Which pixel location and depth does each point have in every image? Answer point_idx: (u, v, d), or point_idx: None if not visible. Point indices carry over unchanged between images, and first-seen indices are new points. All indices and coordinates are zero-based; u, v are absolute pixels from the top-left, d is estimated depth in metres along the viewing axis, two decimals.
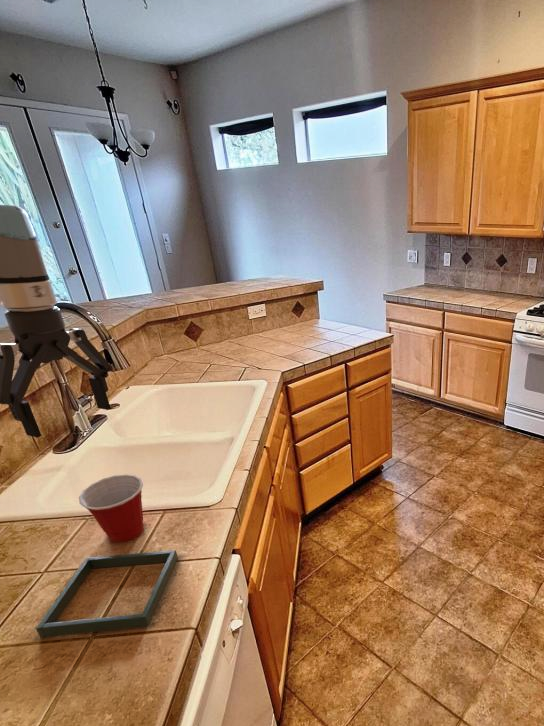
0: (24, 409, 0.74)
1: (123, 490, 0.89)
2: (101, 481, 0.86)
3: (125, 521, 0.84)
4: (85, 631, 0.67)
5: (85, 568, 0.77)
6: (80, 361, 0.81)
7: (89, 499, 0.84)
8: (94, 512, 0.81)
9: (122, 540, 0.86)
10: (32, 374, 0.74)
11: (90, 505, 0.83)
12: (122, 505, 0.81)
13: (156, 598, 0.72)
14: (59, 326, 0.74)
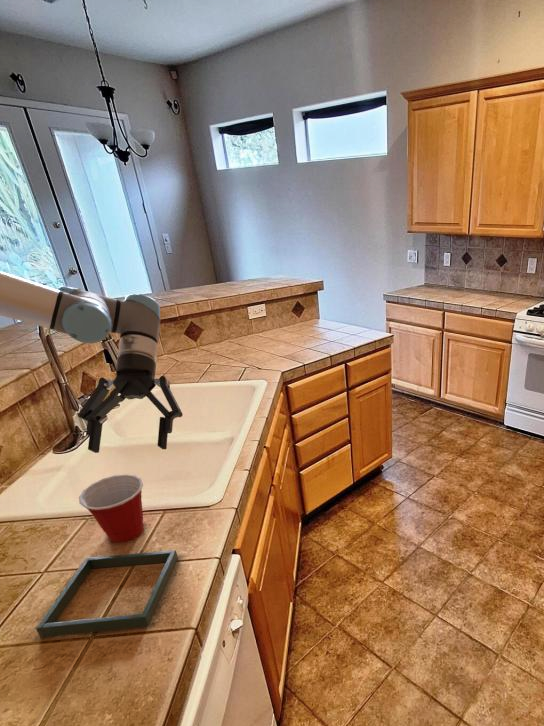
0: None
1: (123, 490, 0.89)
2: (101, 481, 0.86)
3: (125, 521, 0.84)
4: (85, 631, 0.67)
5: (85, 568, 0.77)
6: (151, 399, 0.94)
7: (89, 499, 0.84)
8: (94, 512, 0.81)
9: (122, 540, 0.86)
10: (109, 401, 0.92)
11: (90, 505, 0.83)
12: (122, 505, 0.81)
13: (156, 598, 0.72)
14: (134, 364, 0.93)
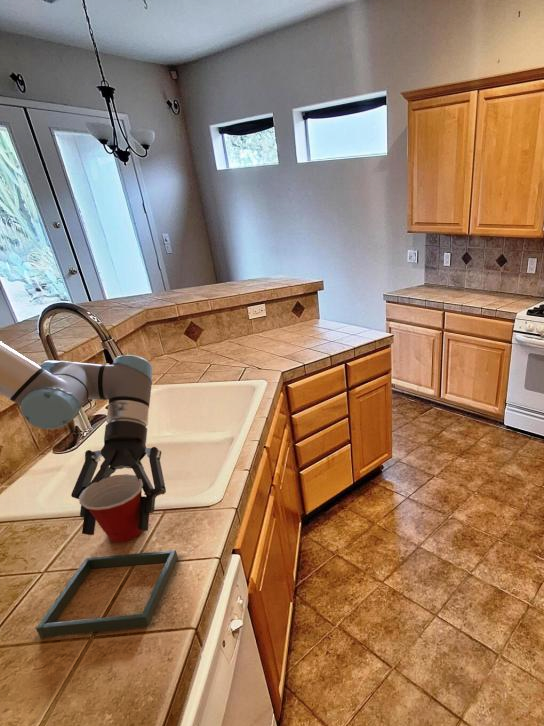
0: None
1: (123, 490, 0.89)
2: (101, 481, 0.86)
3: (125, 521, 0.84)
4: (85, 631, 0.67)
5: (85, 568, 0.77)
6: (136, 473, 0.87)
7: (89, 499, 0.84)
8: (94, 512, 0.81)
9: (122, 540, 0.86)
10: (101, 475, 0.86)
11: (90, 505, 0.83)
12: (122, 505, 0.81)
13: (156, 598, 0.72)
14: (123, 433, 0.87)
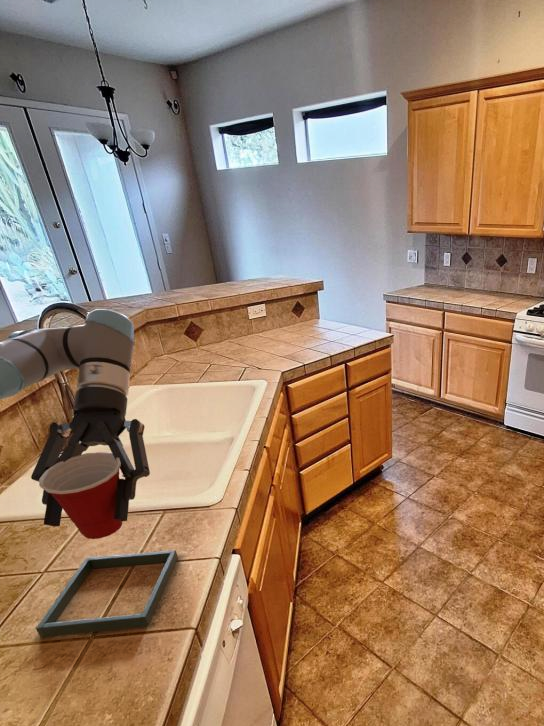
0: None
1: (97, 472, 0.73)
2: (69, 460, 0.70)
3: (98, 509, 0.68)
4: (85, 631, 0.67)
5: (85, 568, 0.77)
6: (113, 450, 0.71)
7: (54, 482, 0.68)
8: (58, 497, 0.64)
9: (95, 533, 0.70)
10: (69, 453, 0.70)
11: (54, 489, 0.67)
12: (93, 488, 0.65)
13: (156, 598, 0.72)
14: (97, 401, 0.71)
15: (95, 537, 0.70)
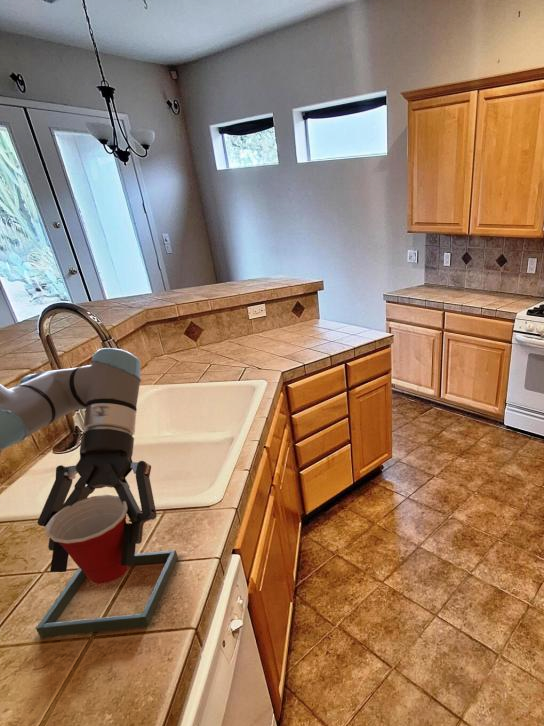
0: None
1: (103, 515, 0.72)
2: (76, 504, 0.69)
3: (105, 555, 0.67)
4: (85, 631, 0.67)
5: None
6: (120, 494, 0.70)
7: (60, 527, 0.67)
8: (65, 545, 0.64)
9: (102, 578, 0.69)
10: (75, 496, 0.69)
11: (61, 535, 0.67)
12: (100, 536, 0.64)
13: (156, 598, 0.72)
14: (104, 444, 0.70)
15: (102, 582, 0.70)
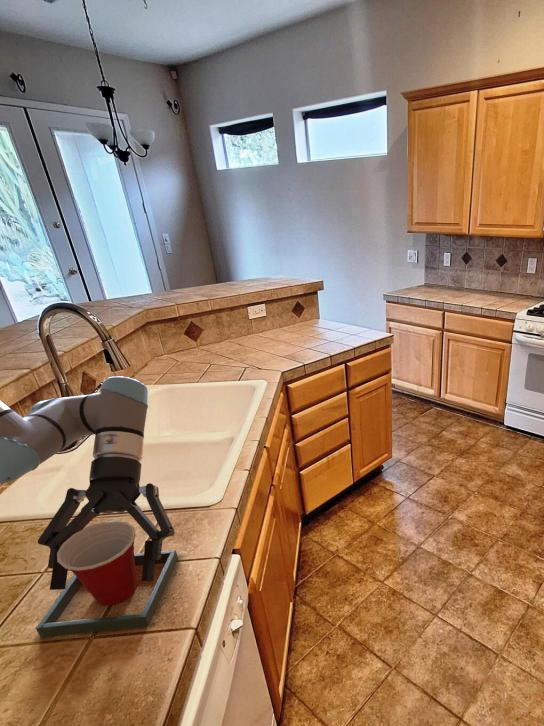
0: None
1: (112, 540, 0.74)
2: (85, 530, 0.72)
3: (114, 580, 0.69)
4: (85, 631, 0.67)
5: None
6: (134, 516, 0.73)
7: (71, 553, 0.69)
8: (75, 572, 0.66)
9: (110, 601, 0.71)
10: (80, 520, 0.72)
11: (71, 561, 0.69)
12: (109, 563, 0.67)
13: (156, 598, 0.72)
14: (113, 472, 0.73)
15: None
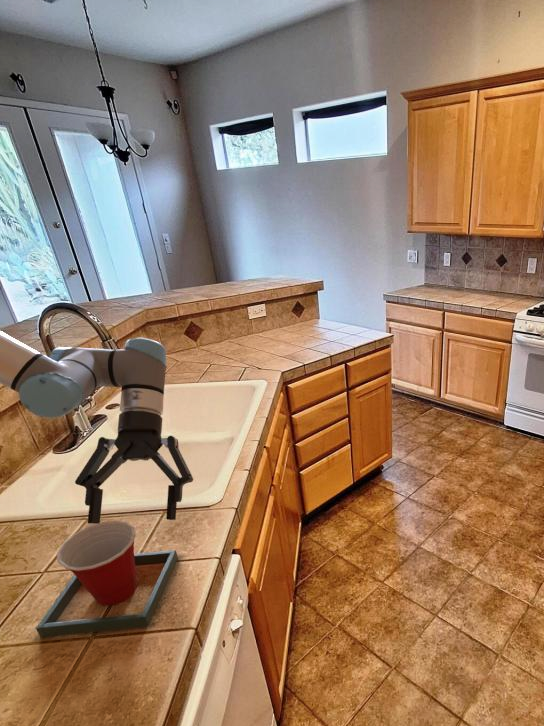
0: None
1: (112, 540, 0.74)
2: (85, 530, 0.72)
3: (114, 580, 0.69)
4: (85, 631, 0.67)
5: None
6: (158, 464, 0.83)
7: (71, 553, 0.69)
8: (75, 572, 0.66)
9: (110, 601, 0.71)
10: (110, 465, 0.82)
11: (71, 561, 0.69)
12: (109, 563, 0.67)
13: (156, 598, 0.72)
14: (139, 424, 0.82)
15: None
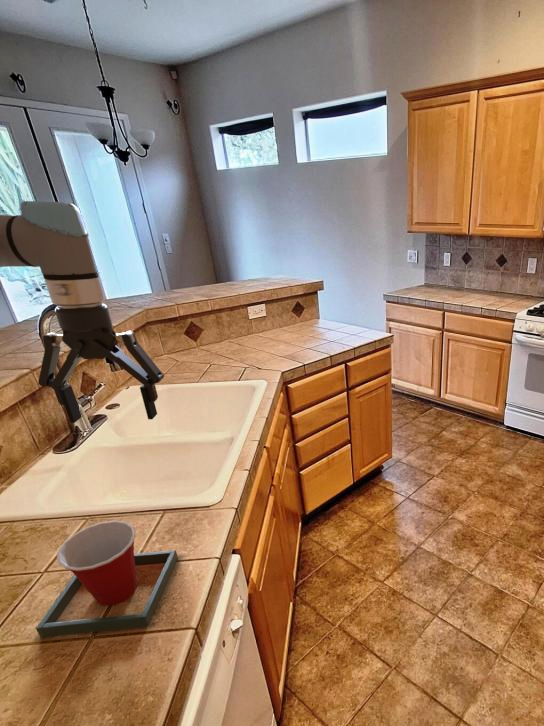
0: None
1: (112, 540, 0.74)
2: (85, 530, 0.72)
3: (114, 580, 0.69)
4: (85, 631, 0.67)
5: None
6: (121, 365, 0.77)
7: (71, 554, 0.69)
8: (75, 572, 0.66)
9: (110, 602, 0.71)
10: (69, 366, 0.76)
11: (71, 561, 0.69)
12: (109, 563, 0.67)
13: (156, 598, 0.72)
14: (83, 327, 0.71)
15: None
